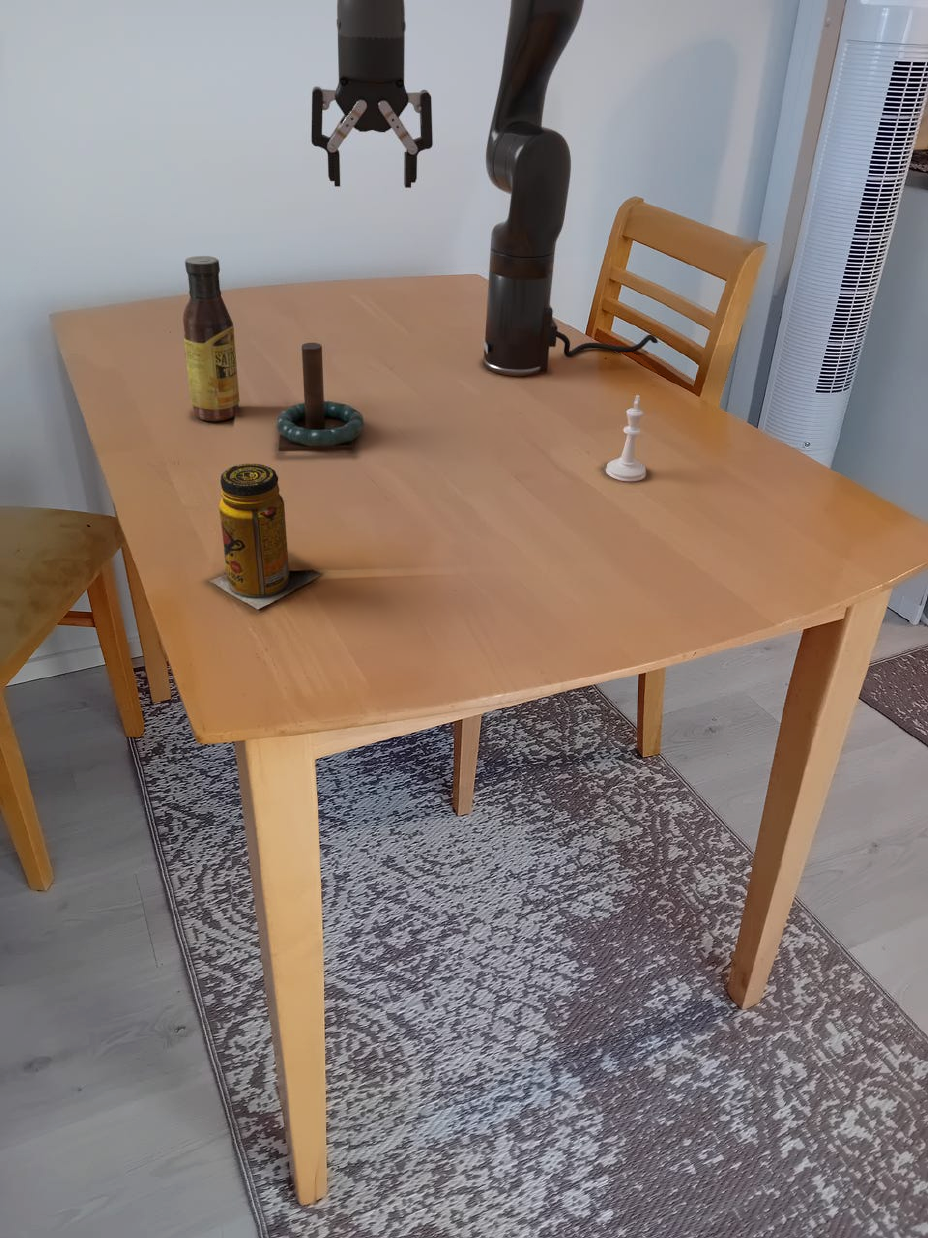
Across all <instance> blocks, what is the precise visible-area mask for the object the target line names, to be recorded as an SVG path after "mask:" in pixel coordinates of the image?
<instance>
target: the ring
mask: <svg viewBox="0 0 928 1238" xmlns="http://www.w3.org/2000/svg"><path fill="white" fill-rule="evenodd" d="M324 414H325V417H332V418H337V419H341V420H344V421H345V422H347V424H346V425H344V426H342V427H338V428H334V429H330V430H310V429H306V428H302V427H298V426H296V425H295V424H294V423H296V422H297V421H298V420H302V419H305V402H301V403H297V404H292V405H290V406H289V407H287V408H285V409H284V410H282V412H280V413H279V414H278V416H277V419H276V421H277V422H276V429H277V432H278V434H279V433H280V434H281V435H282V436H284V437H285V438H287V439H288V440H289V441H291V442H293V443H298V444H302V445H306V446H312V447H313V446H335V445H339V444H342V443H346V442H350V441H352V442H353V440H355V439H356V438H357V437H358V436H360V435H361V434H362V433H363V432H364V430H365V420H364V415H363V414H362V413H361V411H358V410H357V409H356V408H354V407H352V405H351V406H350V405H349V404H345V403H340V402H337V401H331V400H324Z"/></svg>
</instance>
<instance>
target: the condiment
mask: <svg viewBox="0 0 928 1238" xmlns="http://www.w3.org/2000/svg"><path fill="white" fill-rule="evenodd" d="M220 485H221V486H220V487H221V492H220V493H221V499H220V502H219V506H218V508H219V518H220V525H221V533H222V534H221V535H222V542H223V553H224V561H225V569H226V573H225V574H223V575H220V576H219V577H216V578H214V579H210V580H209V582H211V583H212V584H214V585H215V586H217V587H219V588H220V589H221V590H223V591H225V592H226V593H228V594H229V595H231V596H232V597H234V598H236V599H238V600H239V601H241V602H243V603H245V604H248V605H249V606H251V607H253V608H254V609H255V610H259V609H262V608H263V607H266V606H268V605H270V604H272V603H274V602H275V601H278V600H280V599H281V598H284V597H285V596H288V595H289V594H290V593H292V592H294V591H295V590H297V589H298V588H301V587H303V586H304V585H307V584H309V583H310V582H312V581H313V580H314V579H316V578H318V577H320V576H322V575H323V573H321V572H319V571H316V570H314V569H299V570H290V567H289V566H290V563H289V551H288V539H287V537H288V536H287V523H286V509H285V501H284V498H283V496H281V494H280V487H279V476H278V473H277V472H276V470H275V469H274V468H272V467H270V466H267V465H264V464H261V463H242V464H237V465H233V466H231V467H229V468H228V469H226V470H225V471H224V472H223V473H222V474H221V475H220Z"/></svg>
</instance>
